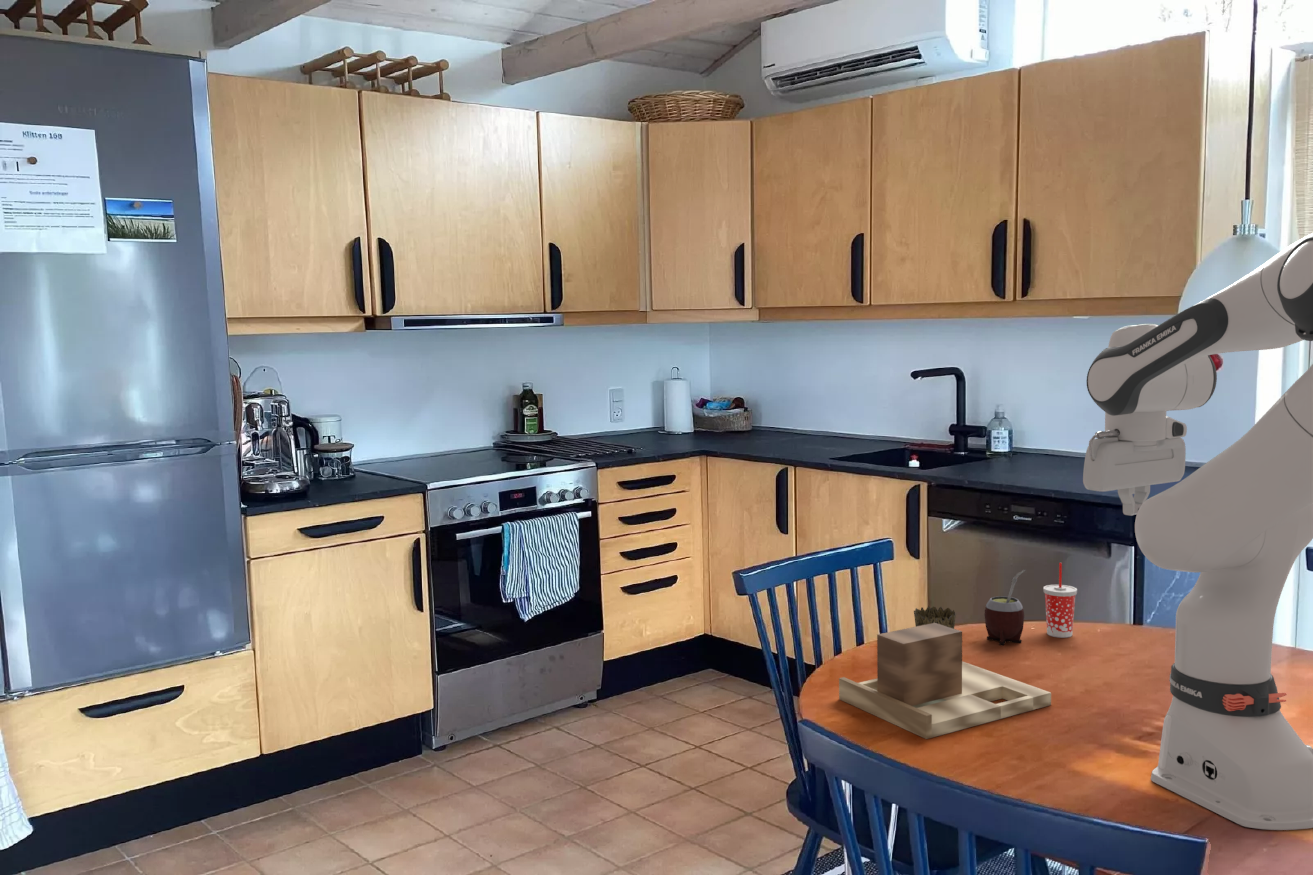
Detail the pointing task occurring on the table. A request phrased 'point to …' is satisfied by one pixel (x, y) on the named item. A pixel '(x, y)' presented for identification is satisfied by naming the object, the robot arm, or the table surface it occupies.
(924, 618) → the cup
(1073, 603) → the beverage cup
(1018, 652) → the table surface
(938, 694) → the block
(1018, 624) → the mate gourd
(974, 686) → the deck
